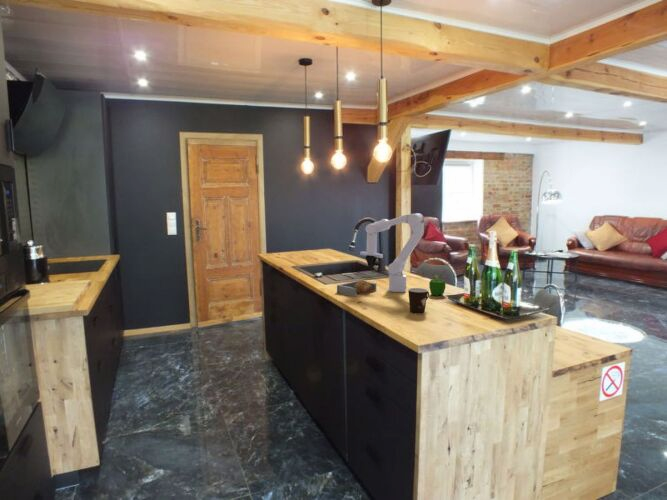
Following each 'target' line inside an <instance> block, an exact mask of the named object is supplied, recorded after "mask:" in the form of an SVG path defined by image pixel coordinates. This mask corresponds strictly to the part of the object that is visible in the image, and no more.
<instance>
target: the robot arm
mask: <svg viewBox="0 0 667 500" xmlns="http://www.w3.org/2000/svg"><path fill="white" fill-rule="evenodd" d="M425 222H426V220H425V218H424V215H423V214H422V213H420V212H416V213H411V214H410V213H409V214H404V215H401V216H398V217H396V218H392V219H387V218H382V219H381V220H378V221H374V222H373V223H369V224H367V225H366V226H365V232H366V249H365V250H366V251H359V255H360V256H365V257H364V259H365V261H366V263H367V266H368V270H373V269H374V266H375V264H376V261H377V260H378V258H379V259H384V254H383V253H378V250H377V249H378V248H377V247H378V233H380V232H384V231H387V230H390V228H391V227H392V226H396V225H398V224H402V223H404V224H408V225H409V227H410V228H411V231H412V234H411V235H410V237H409V238H408V239H407V242H406V243H405V245H404V246H403V248H402V249H401V251H400V253H399V254H398V255H397V257H396V258H395V259H393V262H391V263H390V264H389V265H388V266H387V271H388V275H389V276H388V288H387V292H393V293H394V292H395V293H406V291H407V286H408V285H407V274H404V273H403V271H404V270H405V265H406V264H407V260H408V259H409V257H410V256H411V255H412V252H413V251H414V249H415V248H416V246H417V245H418V243H419V242H420V241H421V238H422V237H423V236H424V233H425Z"/></svg>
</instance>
